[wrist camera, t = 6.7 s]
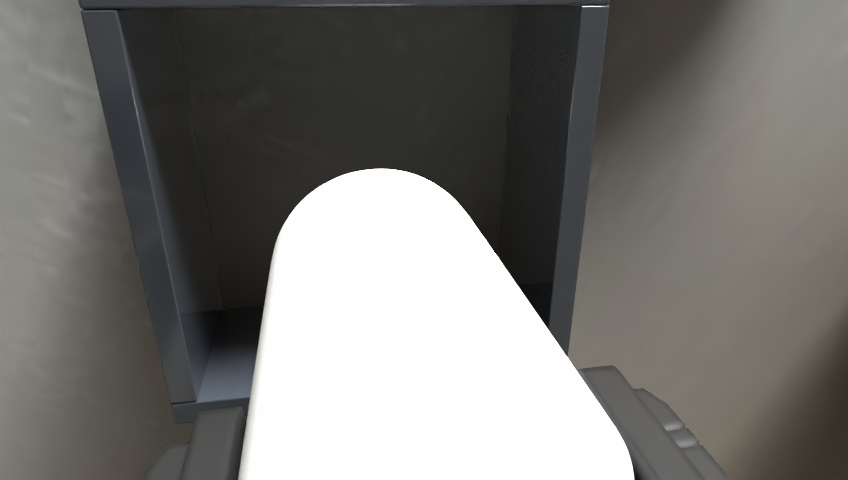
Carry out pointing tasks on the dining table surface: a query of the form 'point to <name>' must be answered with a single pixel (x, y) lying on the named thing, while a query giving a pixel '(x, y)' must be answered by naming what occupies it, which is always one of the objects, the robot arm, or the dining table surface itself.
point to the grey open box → (185, 200)
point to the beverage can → (410, 352)
